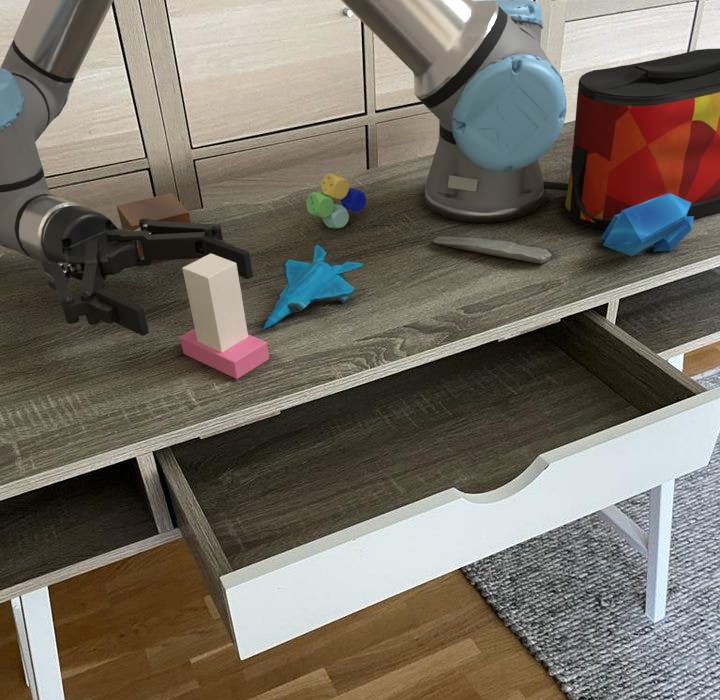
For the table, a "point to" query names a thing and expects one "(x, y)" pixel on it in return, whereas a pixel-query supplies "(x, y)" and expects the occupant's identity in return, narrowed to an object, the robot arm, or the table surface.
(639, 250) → the crystal
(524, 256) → the stone tool
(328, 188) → the dice
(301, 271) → the toy airplane
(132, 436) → the table surface
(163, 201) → the wood block
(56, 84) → the robot arm
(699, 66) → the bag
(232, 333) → the block on pink pedestal
